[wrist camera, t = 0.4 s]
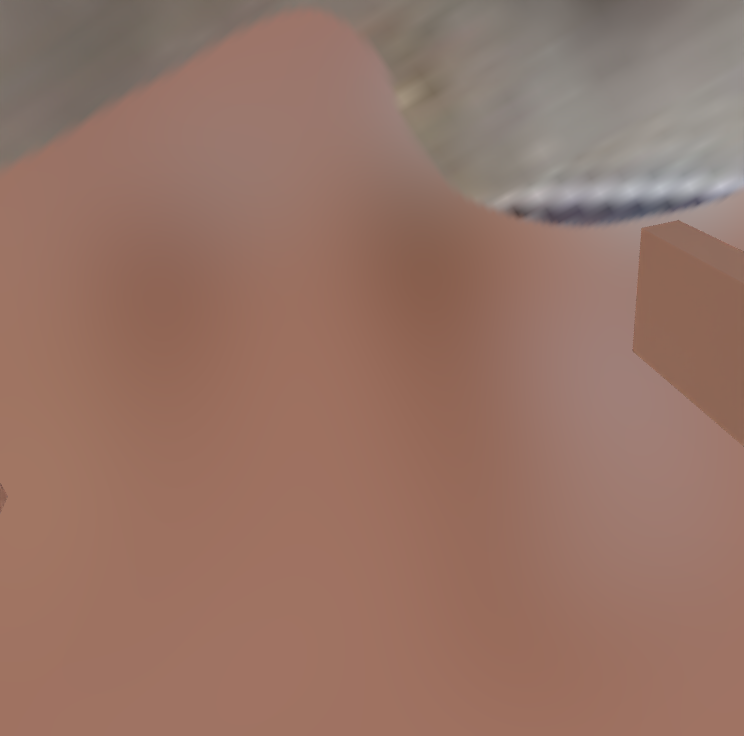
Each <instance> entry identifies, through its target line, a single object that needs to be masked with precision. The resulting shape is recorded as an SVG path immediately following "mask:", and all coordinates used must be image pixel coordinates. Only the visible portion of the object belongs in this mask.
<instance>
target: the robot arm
mask: <svg viewBox="0 0 744 736" xmlns="http://www.w3.org/2000/svg"><path fill="white" fill-rule="evenodd" d="M633 338H634V339H633V352H634V353H635V354H636V355H638V356H639V357H640V358H641V359H642V360H643V361H645V362H646V363H647V364H648V365H649V366H650V367H652V368H653V369H654V370H655V371H656V372H657V373H659V374H660V375H661V376H662V377H663V378H664V379H666V380H667V381H668V382H669V383H670V384H671V385H673V386H674V387H675V388H676V389H678V391H680V392H681V393H682V394H683V395H684V396H685V397H687V398H688V399H689V400H690V401H691V402H692V403H694V404H695V405H696V406H697V407H698V408H699V409H700V410H702V411H703V412H704V413H705V414H706V415H707V416H709V417H710V418H711V419H712V420H714V421H715V422H716V423H717V424H718V425H719V426H720V427H721V428H723V429H724V430H725V431H726V432H727V433H728V434H730V435H731V436H732V437H733V438H734V439H736V440H737V441H738V442H739V443H740V444H741V445H743V446H744V251H742V250H740V249H737V248H735V247H733V246H731V245H729V244H727V243H725V242H722V241H721V240H719V239H717V238H714V237H712V236H710V235H708V234H706V233H704V232H702V231H700V230H698V229H696V228H694V227H691V226H689V225H687V224H685V223H683V222H681V221H679V220H677V221H673V222H668V223H663V224H659V225H654V226H649V227H645V228H642V229H641V242H640V256H639V270H638V284H637V297H636V311H635V324H634V337H633ZM7 497H8V496H7V494H6V492H5V491H4V489H3V487H2V485H1V484H0V513H1V510H2V508H3V506H4V504H5V502H6V500H7Z"/></svg>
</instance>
